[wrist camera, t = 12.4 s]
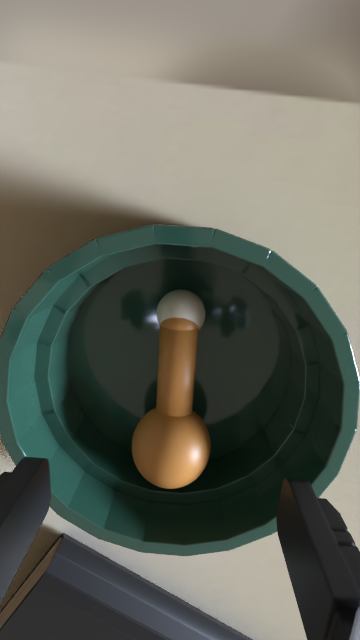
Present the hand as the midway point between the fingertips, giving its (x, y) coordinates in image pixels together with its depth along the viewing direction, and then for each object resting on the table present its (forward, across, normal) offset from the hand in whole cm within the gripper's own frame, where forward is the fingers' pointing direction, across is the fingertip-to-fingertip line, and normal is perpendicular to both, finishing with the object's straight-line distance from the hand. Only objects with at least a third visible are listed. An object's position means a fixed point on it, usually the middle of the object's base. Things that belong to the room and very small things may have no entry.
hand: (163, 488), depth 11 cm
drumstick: (+10, 0, +1) cm, 10 cm away
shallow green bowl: (+11, 0, 0) cm, 11 cm away
